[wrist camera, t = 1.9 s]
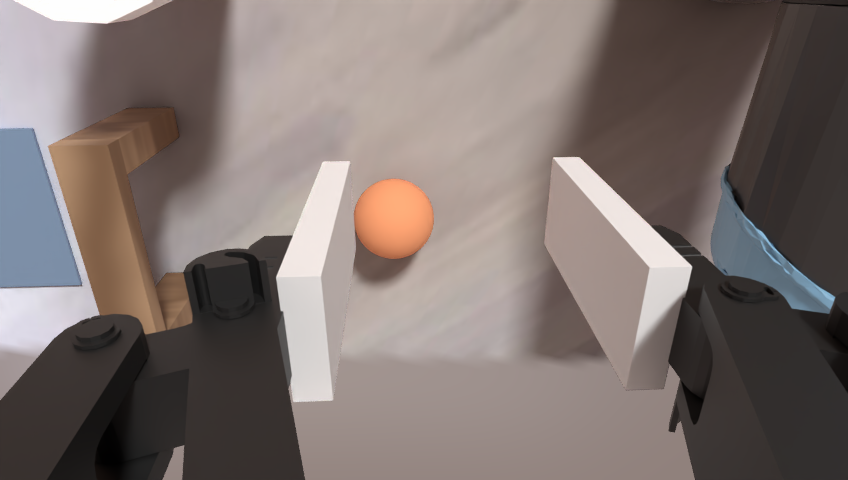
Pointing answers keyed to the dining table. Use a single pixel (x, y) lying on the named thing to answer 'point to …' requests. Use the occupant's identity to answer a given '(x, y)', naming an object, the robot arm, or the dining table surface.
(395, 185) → the ball
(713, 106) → the dining table surface
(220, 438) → the robot arm
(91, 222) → the bridge
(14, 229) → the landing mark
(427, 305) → the dining table surface
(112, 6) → the foam cup
